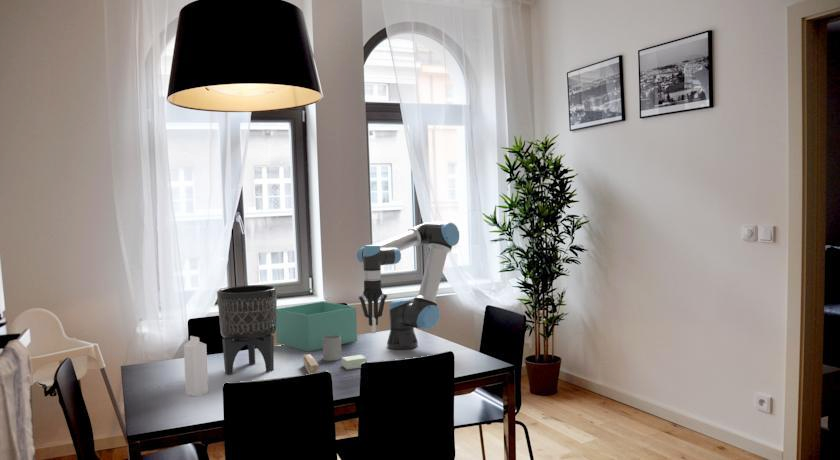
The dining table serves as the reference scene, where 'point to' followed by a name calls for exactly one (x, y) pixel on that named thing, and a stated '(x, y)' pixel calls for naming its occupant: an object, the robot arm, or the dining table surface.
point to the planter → (248, 322)
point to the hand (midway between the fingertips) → (373, 332)
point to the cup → (331, 347)
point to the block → (353, 361)
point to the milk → (195, 367)
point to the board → (310, 364)
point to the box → (315, 324)
